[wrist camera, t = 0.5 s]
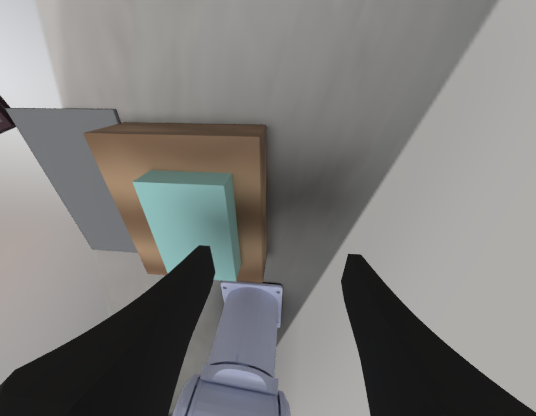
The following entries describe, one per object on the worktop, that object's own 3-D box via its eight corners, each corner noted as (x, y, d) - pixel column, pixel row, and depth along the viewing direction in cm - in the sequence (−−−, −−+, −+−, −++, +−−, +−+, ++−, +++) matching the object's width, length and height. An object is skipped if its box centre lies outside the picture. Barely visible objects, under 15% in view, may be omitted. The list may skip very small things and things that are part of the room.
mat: (167, 253, 25) (165, 254, 25) (94, 247, 26) (92, 249, 26) (115, 109, 17) (112, 109, 16) (9, 108, 18) (5, 108, 17)
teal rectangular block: (241, 263, 19) (236, 281, 17) (179, 259, 20) (168, 276, 18) (231, 173, 14) (224, 185, 13) (150, 170, 15) (132, 181, 13)
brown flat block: (266, 254, 24) (262, 283, 20) (167, 247, 25) (147, 273, 21) (266, 124, 16) (259, 136, 13) (123, 122, 17) (82, 133, 14)
